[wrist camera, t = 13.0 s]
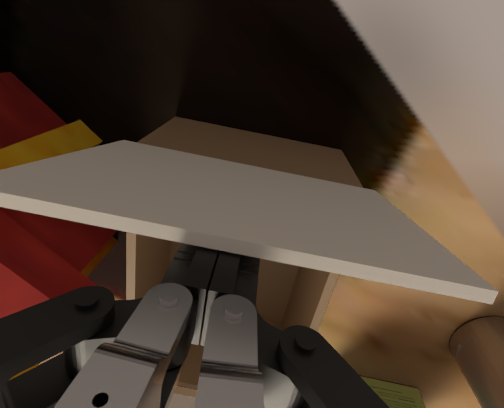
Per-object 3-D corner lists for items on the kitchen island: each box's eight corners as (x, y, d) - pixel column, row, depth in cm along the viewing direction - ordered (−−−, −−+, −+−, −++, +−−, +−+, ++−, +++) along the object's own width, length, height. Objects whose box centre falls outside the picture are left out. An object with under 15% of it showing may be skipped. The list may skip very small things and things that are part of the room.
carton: (341, 149, 34) (369, 197, 23) (286, 322, 46) (287, 407, 35) (175, 116, 34) (126, 149, 23) (162, 298, 46) (126, 376, 35)
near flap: (372, 196, 23) (374, 190, 23) (492, 304, 11) (498, 291, 10) (123, 146, 23) (123, 139, 22) (-50, 196, 10) (-51, 182, 10)
